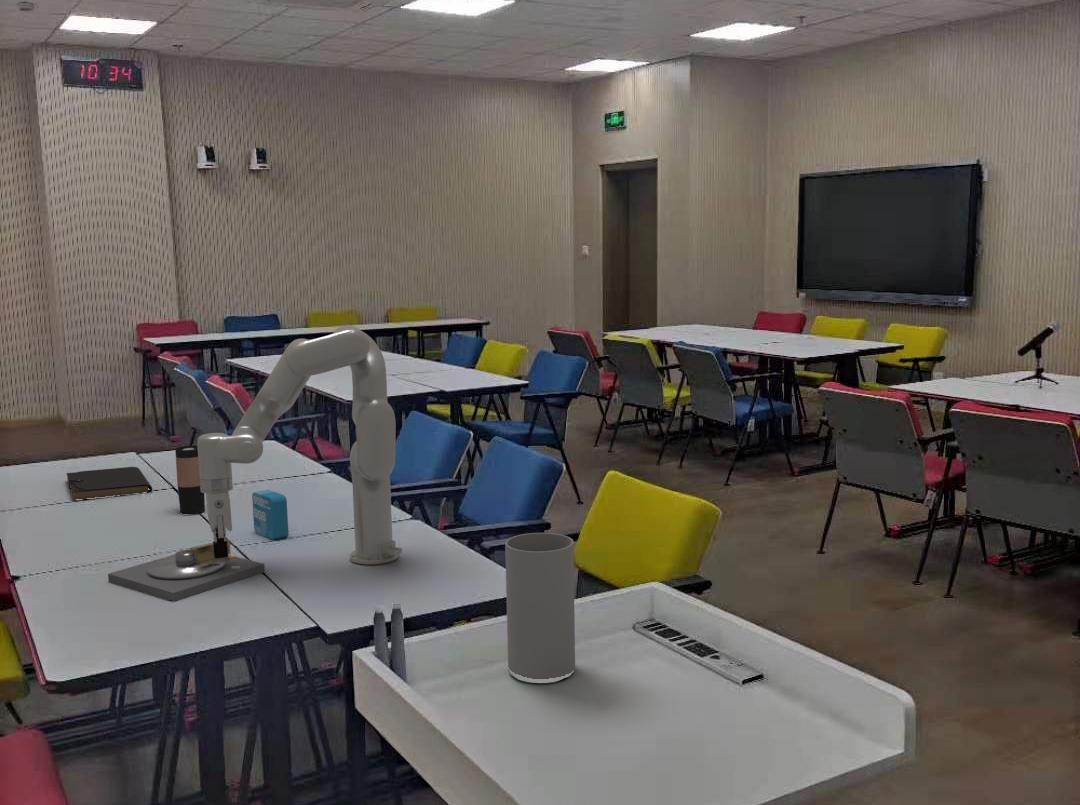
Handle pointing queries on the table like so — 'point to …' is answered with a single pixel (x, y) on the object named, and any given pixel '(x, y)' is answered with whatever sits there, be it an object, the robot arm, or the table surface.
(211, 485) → the robot arm
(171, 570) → the capstan dial
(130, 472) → the dark notebook
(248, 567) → the dial base
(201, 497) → the travel mug
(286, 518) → the data package
